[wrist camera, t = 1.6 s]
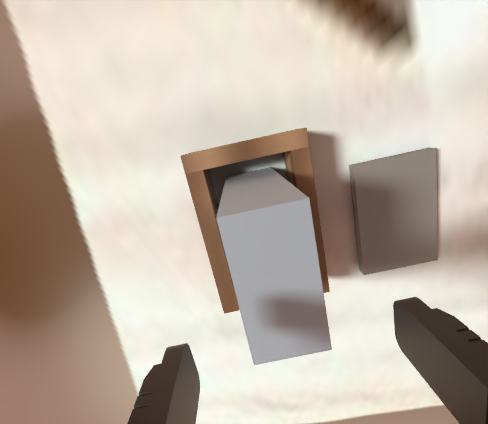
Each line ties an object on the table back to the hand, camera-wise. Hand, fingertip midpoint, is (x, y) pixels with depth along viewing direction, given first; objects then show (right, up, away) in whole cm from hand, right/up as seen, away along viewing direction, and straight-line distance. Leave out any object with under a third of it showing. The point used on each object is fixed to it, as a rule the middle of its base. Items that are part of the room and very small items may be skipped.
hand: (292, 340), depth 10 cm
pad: (+14, +5, +17) cm, 23 cm away
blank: (-1, +5, +17) cm, 18 cm away
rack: (0, +4, +17) cm, 18 cm away
